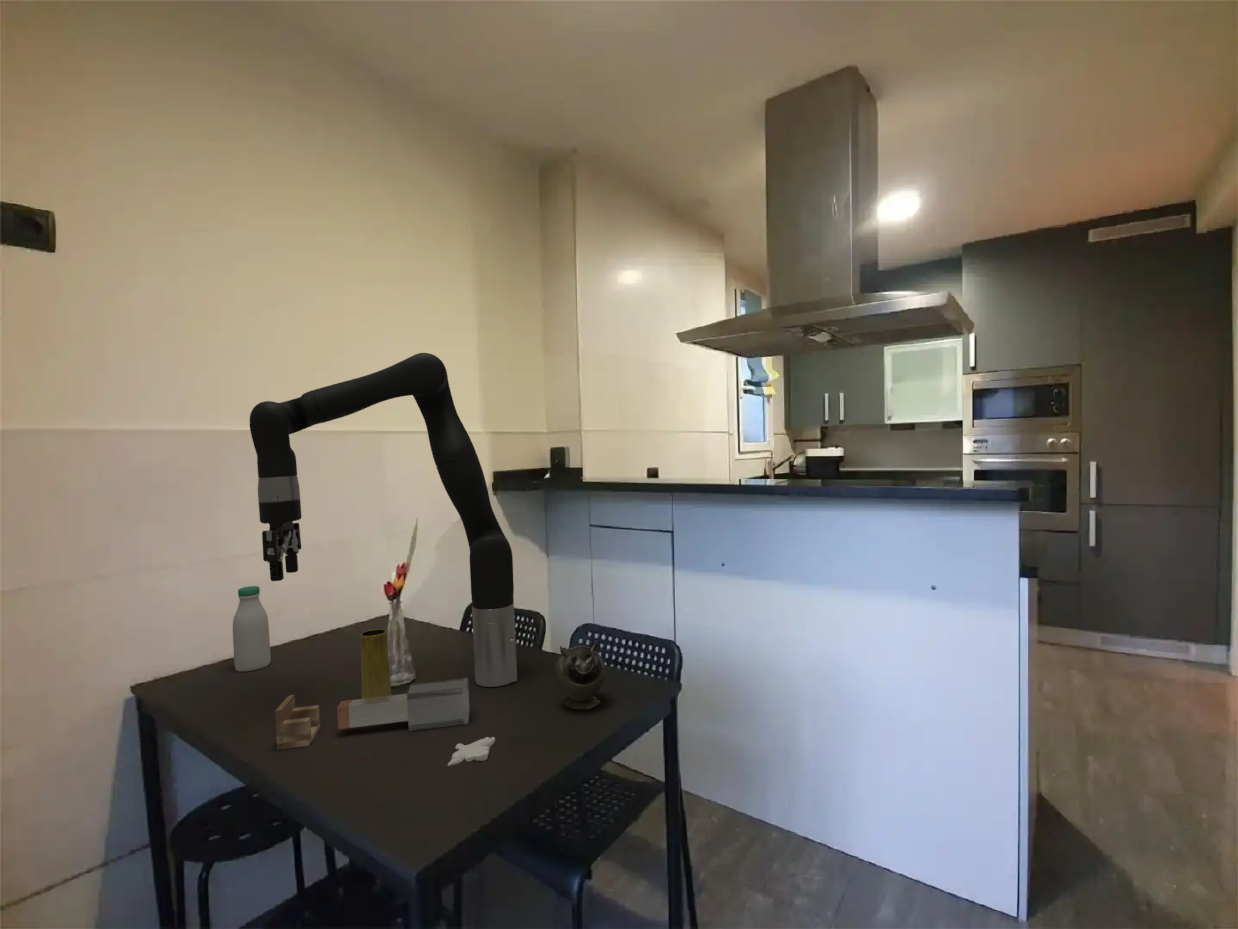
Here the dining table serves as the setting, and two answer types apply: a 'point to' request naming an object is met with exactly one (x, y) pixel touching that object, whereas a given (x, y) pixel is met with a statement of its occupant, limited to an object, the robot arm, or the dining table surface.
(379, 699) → the white orange-tipped bar
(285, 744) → the socket
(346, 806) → the dining table surface
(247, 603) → the milk bottle
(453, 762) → the acanthus leaf ornament
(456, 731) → the dining table surface
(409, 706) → the sleeve
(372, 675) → the vase
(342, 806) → the dining table surface
